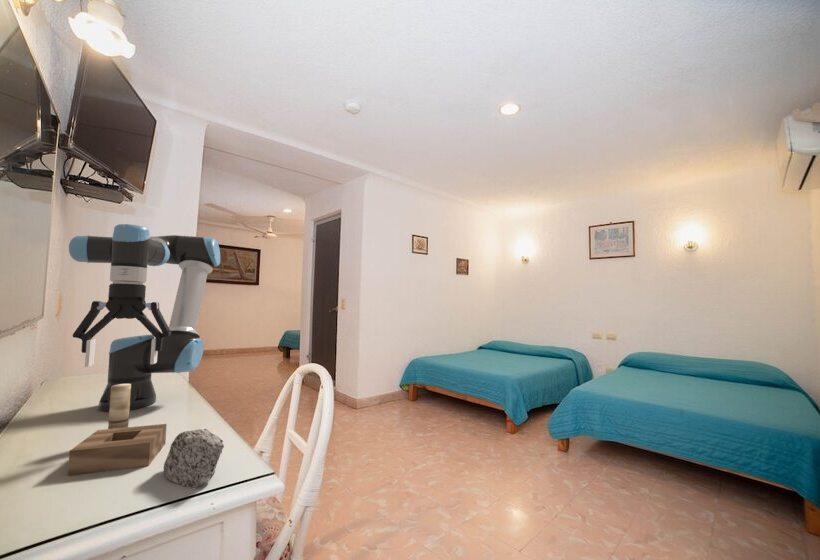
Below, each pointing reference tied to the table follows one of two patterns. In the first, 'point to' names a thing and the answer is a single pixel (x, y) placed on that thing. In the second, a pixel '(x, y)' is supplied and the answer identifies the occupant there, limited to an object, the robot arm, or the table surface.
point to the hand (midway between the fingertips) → (122, 364)
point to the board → (117, 449)
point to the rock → (193, 458)
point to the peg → (119, 406)
